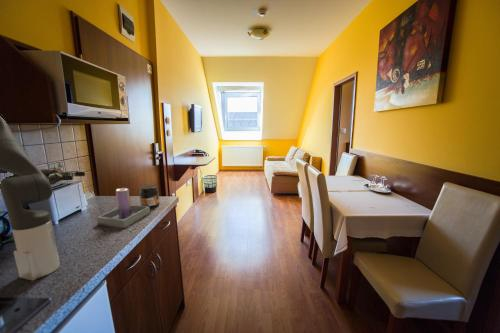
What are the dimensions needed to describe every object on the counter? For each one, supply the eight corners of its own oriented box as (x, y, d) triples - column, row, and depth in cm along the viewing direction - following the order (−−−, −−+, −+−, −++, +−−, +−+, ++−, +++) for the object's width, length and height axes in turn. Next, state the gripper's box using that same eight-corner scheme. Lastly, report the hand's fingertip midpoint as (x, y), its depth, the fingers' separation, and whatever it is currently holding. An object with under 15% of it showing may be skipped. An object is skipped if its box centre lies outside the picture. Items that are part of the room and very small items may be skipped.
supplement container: (152, 209, 127) (150, 190, 124) (136, 208, 129) (134, 188, 127) (163, 203, 137) (161, 184, 135) (148, 202, 139) (146, 184, 137)
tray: (124, 228, 104) (123, 220, 104) (98, 224, 108) (96, 217, 108) (150, 213, 121) (149, 206, 121) (126, 210, 126) (125, 204, 125)
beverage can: (125, 219, 112) (122, 191, 109) (116, 218, 113) (112, 190, 110) (134, 214, 117) (131, 188, 114) (125, 213, 119) (121, 187, 116)
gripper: (27, 172, 96) (66, 170, 97) (53, 166, 110) (87, 165, 111) (31, 189, 97) (69, 187, 99) (56, 181, 111) (89, 179, 113)
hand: (78, 175), depth 105 cm, fingers open, 8 cm apart
